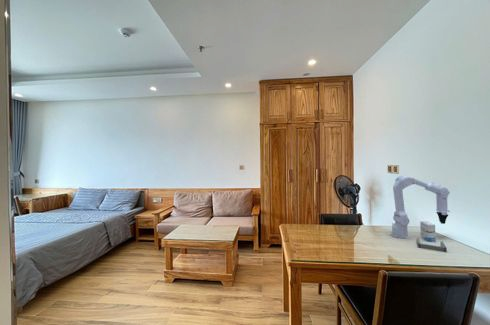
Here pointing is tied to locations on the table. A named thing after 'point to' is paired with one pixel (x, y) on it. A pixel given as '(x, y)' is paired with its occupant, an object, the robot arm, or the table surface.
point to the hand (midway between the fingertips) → (442, 223)
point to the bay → (432, 246)
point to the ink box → (427, 231)
